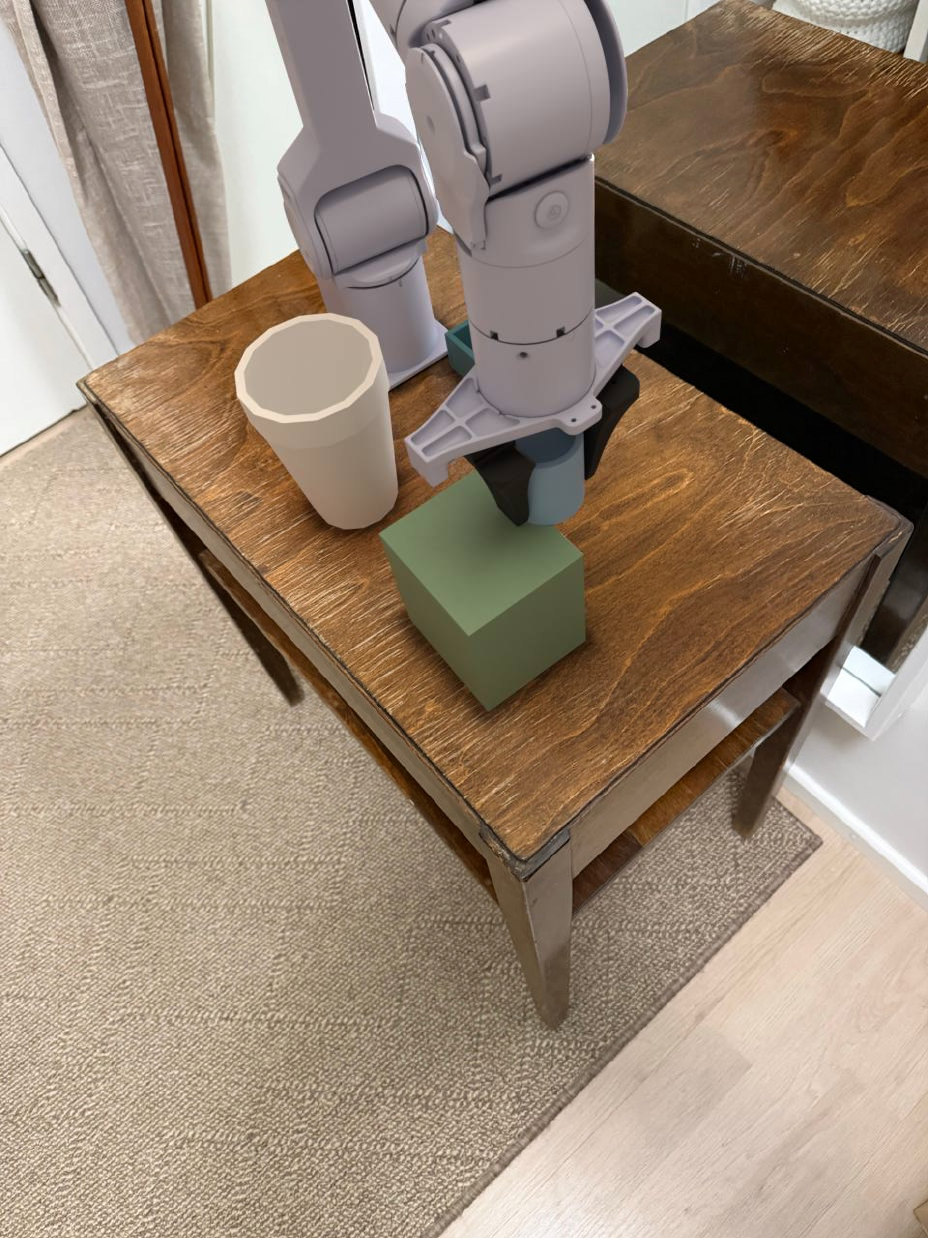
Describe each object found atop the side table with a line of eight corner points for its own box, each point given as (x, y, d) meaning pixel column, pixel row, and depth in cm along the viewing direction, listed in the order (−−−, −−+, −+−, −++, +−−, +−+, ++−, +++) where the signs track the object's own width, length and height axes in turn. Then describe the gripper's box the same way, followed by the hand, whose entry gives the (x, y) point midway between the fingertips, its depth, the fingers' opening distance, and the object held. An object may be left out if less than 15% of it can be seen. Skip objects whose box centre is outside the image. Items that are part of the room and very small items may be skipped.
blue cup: (493, 492, 52) (484, 433, 47) (552, 453, 53) (548, 392, 48) (540, 538, 50) (534, 482, 45) (600, 497, 50) (600, 437, 46)
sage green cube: (409, 618, 60) (377, 533, 51) (502, 554, 61) (486, 461, 53) (488, 712, 56) (468, 636, 47) (586, 640, 57) (584, 554, 49)
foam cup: (354, 429, 69) (308, 294, 58) (443, 479, 66) (412, 346, 54) (270, 510, 66) (204, 384, 55) (359, 568, 62) (307, 446, 51)
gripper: (450, 434, 36) (486, 606, 47) (715, 263, 39) (688, 464, 50) (358, 345, 39) (413, 526, 51) (609, 194, 42) (607, 397, 54)
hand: (545, 490), depth 51 cm, fingers closed on blue cup, 4 cm apart
